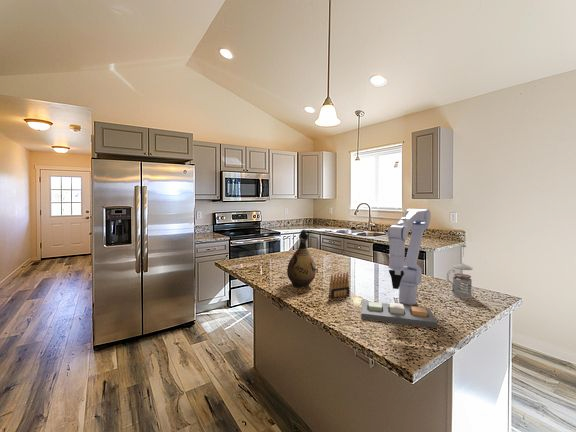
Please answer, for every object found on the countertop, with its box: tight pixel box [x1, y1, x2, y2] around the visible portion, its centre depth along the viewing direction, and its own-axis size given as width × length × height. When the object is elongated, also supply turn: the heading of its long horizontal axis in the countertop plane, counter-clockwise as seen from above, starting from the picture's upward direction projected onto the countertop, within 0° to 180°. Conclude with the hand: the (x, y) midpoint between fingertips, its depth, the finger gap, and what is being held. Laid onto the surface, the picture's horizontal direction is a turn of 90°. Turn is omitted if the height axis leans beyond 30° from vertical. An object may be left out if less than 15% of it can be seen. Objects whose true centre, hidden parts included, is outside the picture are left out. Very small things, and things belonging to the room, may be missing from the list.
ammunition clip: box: [328, 272, 350, 299], centre depth 132 cm, size 11×2×12 cm, turn 116°
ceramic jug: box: [286, 229, 317, 289], centre depth 151 cm, size 17×15×30 cm
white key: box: [388, 302, 404, 314], centre depth 110 cm, size 5×5×3 cm
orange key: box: [410, 305, 427, 317], centre depth 108 cm, size 5×5×3 cm
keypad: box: [360, 300, 438, 329], centre depth 110 cm, size 14×26×3 cm, turn 73°
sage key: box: [369, 301, 383, 312], centre depth 112 cm, size 5×5×3 cm
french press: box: [446, 243, 474, 299], centre depth 138 cm, size 10×12×25 cm
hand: (395, 288), depth 114 cm, fingers closed
